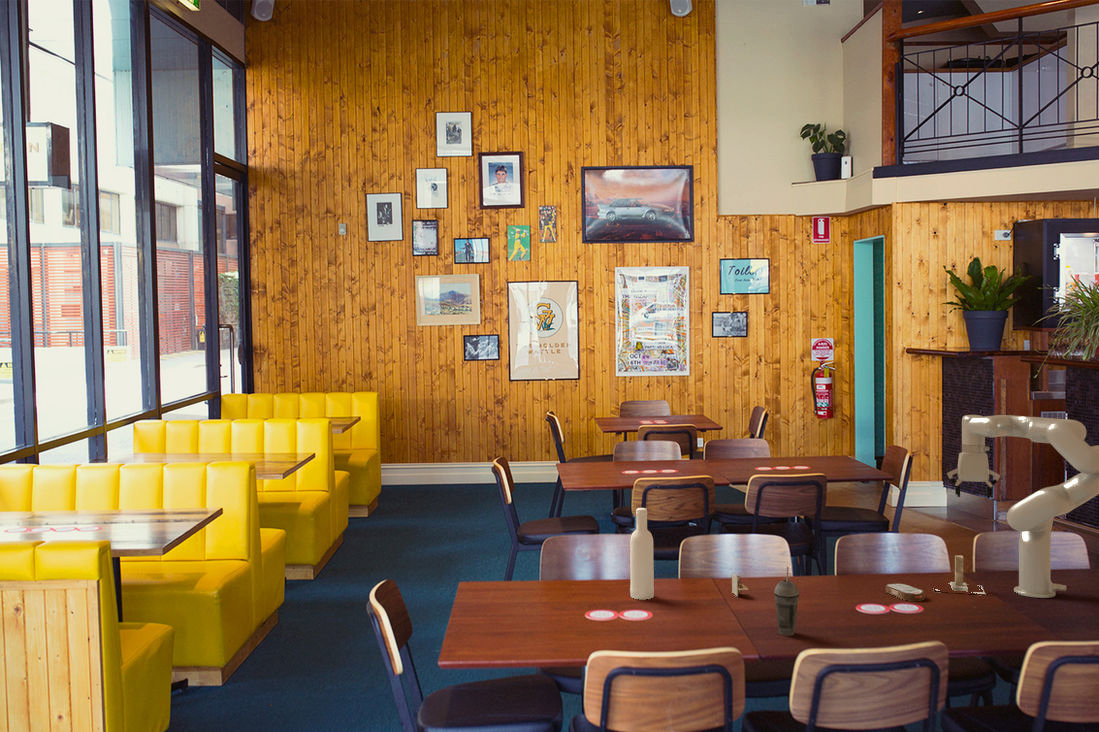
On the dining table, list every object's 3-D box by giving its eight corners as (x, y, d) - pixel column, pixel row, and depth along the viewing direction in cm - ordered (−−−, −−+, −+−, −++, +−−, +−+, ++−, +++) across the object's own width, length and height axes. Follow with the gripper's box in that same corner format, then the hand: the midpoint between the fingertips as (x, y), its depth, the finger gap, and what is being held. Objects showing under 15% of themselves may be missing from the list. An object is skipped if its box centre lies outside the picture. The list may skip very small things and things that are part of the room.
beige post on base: (965, 586, 327) (965, 554, 327) (968, 591, 319) (968, 559, 319) (950, 585, 328) (950, 553, 328) (952, 590, 321) (952, 558, 321)
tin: (900, 589, 325) (880, 592, 323) (900, 580, 325) (879, 583, 323) (930, 600, 311) (908, 604, 308) (929, 590, 311) (908, 594, 308)
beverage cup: (795, 629, 279) (795, 562, 279) (802, 637, 272) (802, 568, 271) (771, 629, 279) (770, 563, 278) (777, 637, 271) (777, 568, 271)
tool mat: (981, 587, 327) (981, 585, 327) (985, 595, 316) (985, 594, 316) (932, 583, 333) (932, 582, 333) (934, 592, 321) (934, 590, 321)
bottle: (645, 601, 311) (645, 511, 311) (625, 597, 316) (625, 509, 316) (658, 596, 318) (657, 508, 317) (638, 592, 323) (637, 506, 322)
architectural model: (741, 594, 322) (741, 572, 321) (748, 599, 315) (748, 577, 315) (731, 594, 321) (731, 573, 321) (738, 600, 314) (738, 578, 314)
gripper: (998, 449, 336) (998, 496, 336) (946, 447, 341) (946, 494, 341) (1001, 451, 328) (1001, 500, 329) (947, 449, 334) (947, 497, 334)
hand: (973, 497), depth 335 cm, fingers open, 9 cm apart
